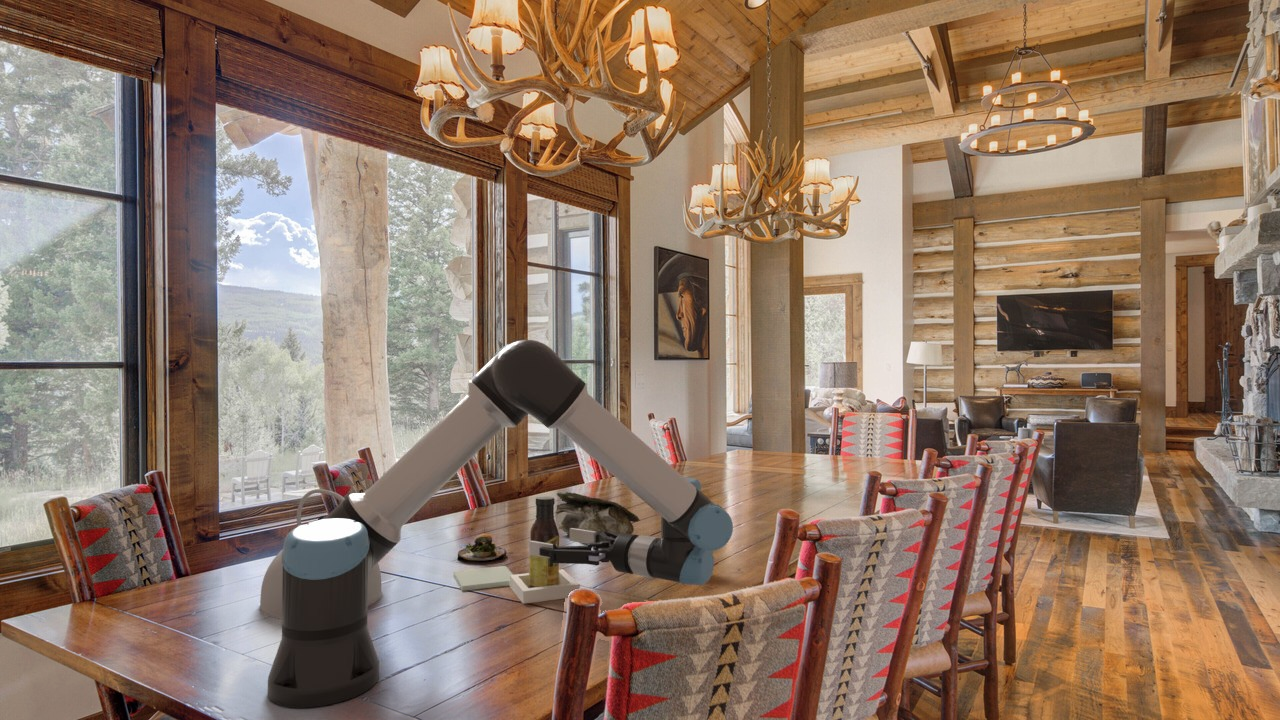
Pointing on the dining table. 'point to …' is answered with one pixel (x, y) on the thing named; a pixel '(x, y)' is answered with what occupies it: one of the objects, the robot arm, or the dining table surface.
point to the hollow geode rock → (593, 514)
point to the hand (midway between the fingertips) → (551, 540)
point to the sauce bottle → (546, 533)
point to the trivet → (483, 578)
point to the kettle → (274, 573)
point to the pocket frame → (542, 588)
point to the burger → (482, 549)
